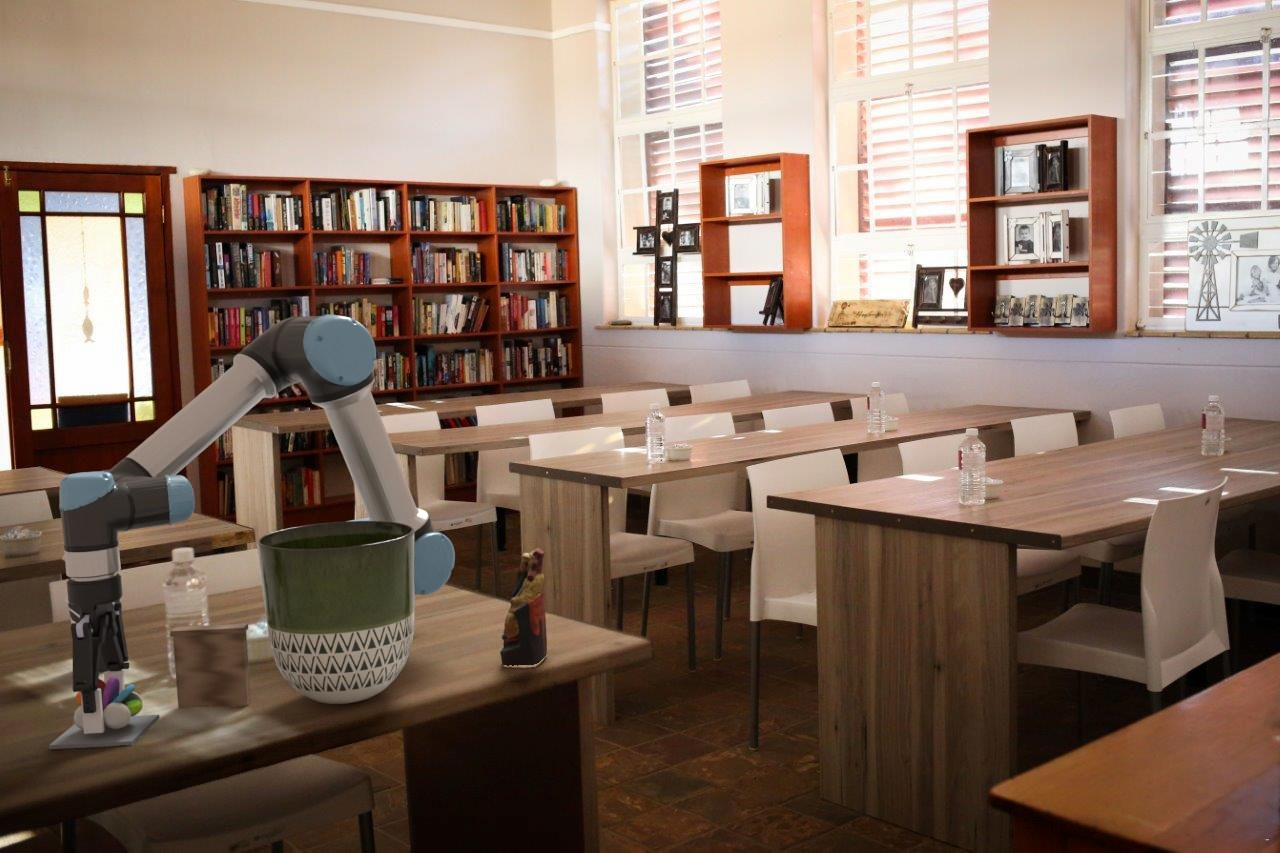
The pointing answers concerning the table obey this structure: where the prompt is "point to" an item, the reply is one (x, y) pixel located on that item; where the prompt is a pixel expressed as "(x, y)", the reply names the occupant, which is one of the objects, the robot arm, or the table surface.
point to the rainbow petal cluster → (113, 704)
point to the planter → (339, 606)
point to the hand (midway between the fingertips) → (105, 722)
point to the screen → (211, 666)
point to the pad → (105, 734)
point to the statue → (526, 615)
